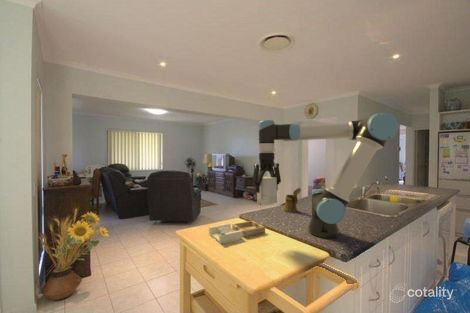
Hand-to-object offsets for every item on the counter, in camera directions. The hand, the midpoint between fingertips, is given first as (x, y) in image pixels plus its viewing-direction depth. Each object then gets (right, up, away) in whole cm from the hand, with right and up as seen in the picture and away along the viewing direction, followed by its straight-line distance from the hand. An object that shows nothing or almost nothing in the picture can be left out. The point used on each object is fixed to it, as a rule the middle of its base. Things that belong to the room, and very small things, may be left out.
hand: (266, 198), depth 111 cm
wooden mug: (+25, -19, +49) cm, 59 cm away
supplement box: (0, -3, 0) cm, 3 cm away
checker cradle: (-21, -21, +4) cm, 30 cm away
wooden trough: (-9, -20, +11) cm, 25 cm away
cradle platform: (-21, -18, +4) cm, 28 cm away
